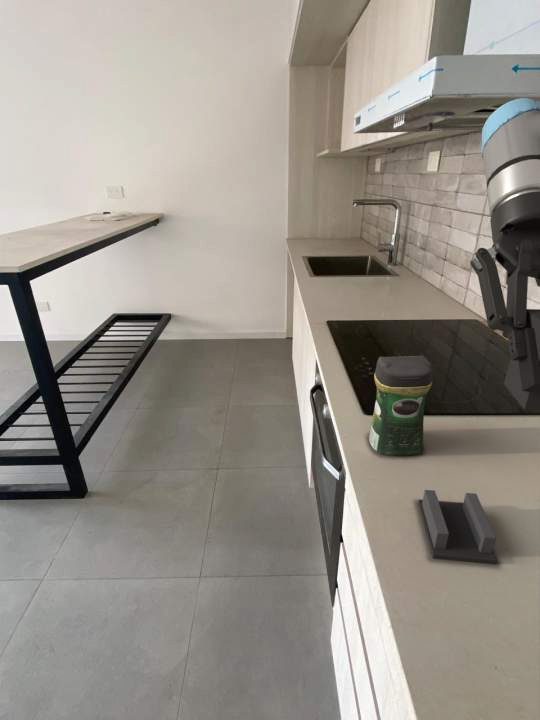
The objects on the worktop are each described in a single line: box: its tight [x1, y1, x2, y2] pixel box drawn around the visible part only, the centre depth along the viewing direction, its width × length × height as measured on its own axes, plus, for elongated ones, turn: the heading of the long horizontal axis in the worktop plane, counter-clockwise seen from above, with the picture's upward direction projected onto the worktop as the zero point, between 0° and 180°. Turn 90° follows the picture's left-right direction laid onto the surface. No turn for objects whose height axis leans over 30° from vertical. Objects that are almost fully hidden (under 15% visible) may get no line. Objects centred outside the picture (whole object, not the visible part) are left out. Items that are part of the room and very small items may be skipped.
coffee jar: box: [368, 354, 433, 457], centre depth 72 cm, size 10×8×19 cm
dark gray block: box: [503, 308, 540, 412], centre depth 45 cm, size 3×6×10 cm, turn 172°
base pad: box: [417, 489, 497, 565], centre depth 57 cm, size 8×10×4 cm
